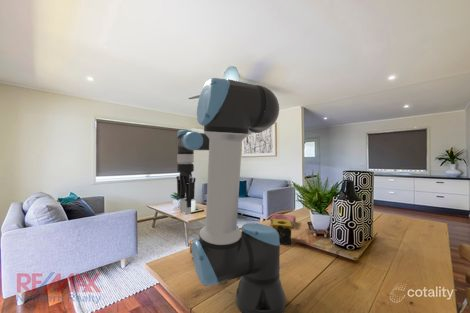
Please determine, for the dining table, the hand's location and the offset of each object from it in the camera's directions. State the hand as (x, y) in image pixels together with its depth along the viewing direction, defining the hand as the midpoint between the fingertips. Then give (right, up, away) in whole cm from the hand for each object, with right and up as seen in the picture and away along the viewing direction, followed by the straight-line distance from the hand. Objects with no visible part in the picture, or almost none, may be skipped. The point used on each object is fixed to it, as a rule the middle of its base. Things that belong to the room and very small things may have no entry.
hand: (185, 213), depth 96 cm
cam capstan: (+9, -16, 0) cm, 18 cm away
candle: (+48, -19, +15) cm, 54 cm away
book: (+56, -20, +41) cm, 72 cm away
